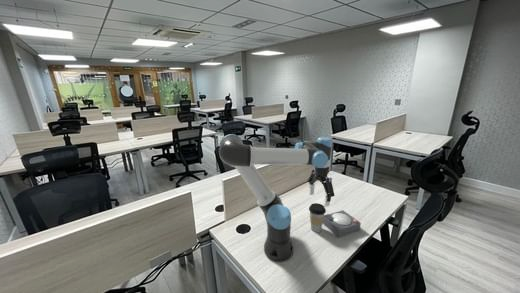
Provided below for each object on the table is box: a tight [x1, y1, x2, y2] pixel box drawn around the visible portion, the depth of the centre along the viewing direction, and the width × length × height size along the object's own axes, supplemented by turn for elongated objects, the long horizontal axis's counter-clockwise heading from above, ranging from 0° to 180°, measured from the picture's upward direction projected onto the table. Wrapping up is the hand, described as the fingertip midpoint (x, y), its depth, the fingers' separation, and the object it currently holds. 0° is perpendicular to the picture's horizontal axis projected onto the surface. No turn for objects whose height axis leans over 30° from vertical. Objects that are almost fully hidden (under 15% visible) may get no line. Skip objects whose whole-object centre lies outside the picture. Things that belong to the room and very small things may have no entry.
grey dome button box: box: [322, 209, 362, 238], centre depth 122 cm, size 16×14×6 cm
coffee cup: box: [308, 202, 327, 233], centre depth 119 cm, size 9×9×15 cm
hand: (318, 199), depth 117 cm, fingers open, 13 cm apart
